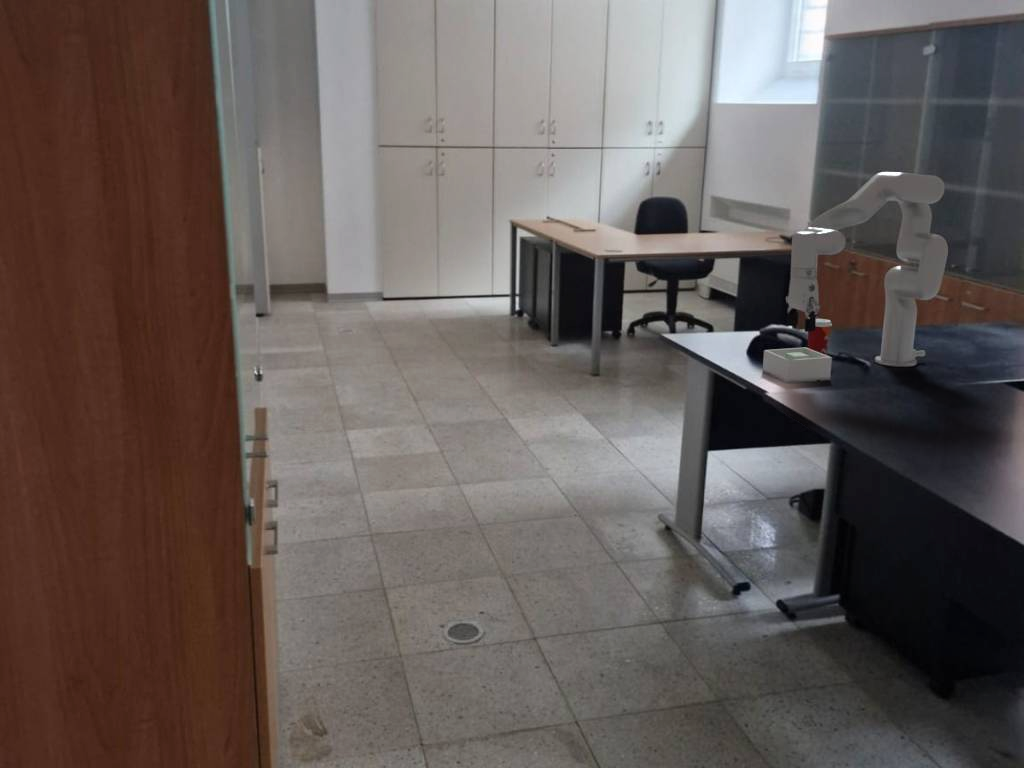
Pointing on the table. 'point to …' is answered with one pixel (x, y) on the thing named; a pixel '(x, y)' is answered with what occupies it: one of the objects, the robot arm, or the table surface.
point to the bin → (797, 365)
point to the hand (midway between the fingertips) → (801, 328)
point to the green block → (796, 356)
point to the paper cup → (820, 336)
